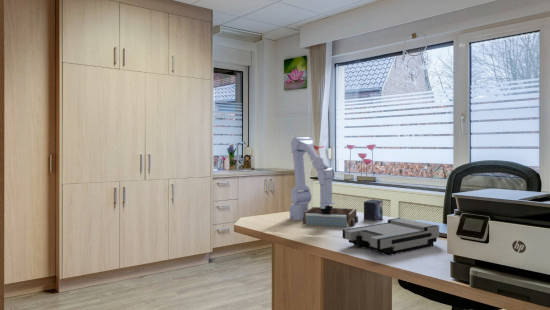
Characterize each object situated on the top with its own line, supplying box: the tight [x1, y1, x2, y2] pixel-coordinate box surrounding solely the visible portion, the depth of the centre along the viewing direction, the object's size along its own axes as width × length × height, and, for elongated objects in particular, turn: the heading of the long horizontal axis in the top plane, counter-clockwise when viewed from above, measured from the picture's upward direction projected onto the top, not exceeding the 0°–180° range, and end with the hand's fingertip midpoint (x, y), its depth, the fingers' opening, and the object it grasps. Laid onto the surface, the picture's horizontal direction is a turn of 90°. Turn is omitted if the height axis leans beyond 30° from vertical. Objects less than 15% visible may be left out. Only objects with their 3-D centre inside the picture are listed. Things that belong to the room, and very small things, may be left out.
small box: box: [363, 198, 384, 222], centre depth 222 cm, size 11×6×10 cm, turn 143°
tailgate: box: [305, 213, 348, 228], centre depth 206 cm, size 20×1×6 cm, turn 69°
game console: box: [342, 217, 440, 256], centre depth 170 cm, size 21×32×8 cm, turn 121°
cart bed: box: [302, 206, 359, 228], centre depth 215 cm, size 25×16×7 cm, turn 69°
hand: (326, 221), depth 207 cm, fingers closed, pressing on tailgate
